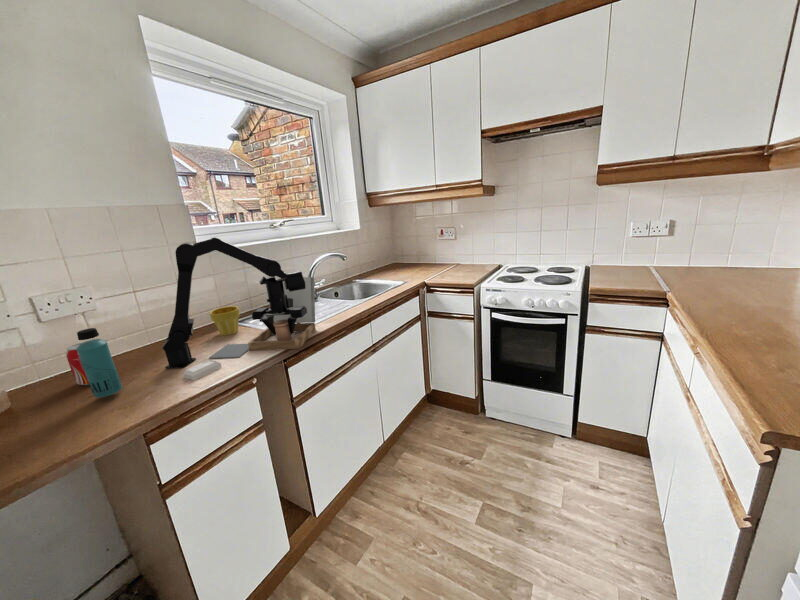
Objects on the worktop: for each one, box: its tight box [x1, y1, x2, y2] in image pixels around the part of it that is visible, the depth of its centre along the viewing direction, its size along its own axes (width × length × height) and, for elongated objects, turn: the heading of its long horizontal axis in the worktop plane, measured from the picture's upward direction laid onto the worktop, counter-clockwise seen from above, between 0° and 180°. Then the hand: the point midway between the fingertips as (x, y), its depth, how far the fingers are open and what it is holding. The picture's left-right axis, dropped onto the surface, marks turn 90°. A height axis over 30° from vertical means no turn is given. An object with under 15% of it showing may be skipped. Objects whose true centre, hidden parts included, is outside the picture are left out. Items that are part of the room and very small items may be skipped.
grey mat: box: [208, 343, 249, 360], centre depth 119 cm, size 11×11×1 cm
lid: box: [274, 276, 316, 324], centre depth 135 cm, size 18×18×1 cm
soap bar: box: [182, 359, 222, 381], centre depth 104 cm, size 5×9×3 cm, turn 151°
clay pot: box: [273, 319, 293, 341], centre depth 125 cm, size 6×6×7 cm
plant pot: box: [209, 305, 241, 336], centre depth 137 cm, size 10×10×10 cm
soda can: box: [65, 342, 89, 386], centre depth 103 cm, size 7×7×12 cm
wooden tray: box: [247, 322, 317, 352], centre depth 126 cm, size 18×18×3 cm
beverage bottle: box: [76, 327, 123, 398], centre depth 91 cm, size 6×7×20 cm
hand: (283, 334), depth 125 cm, fingers open, 6 cm apart
